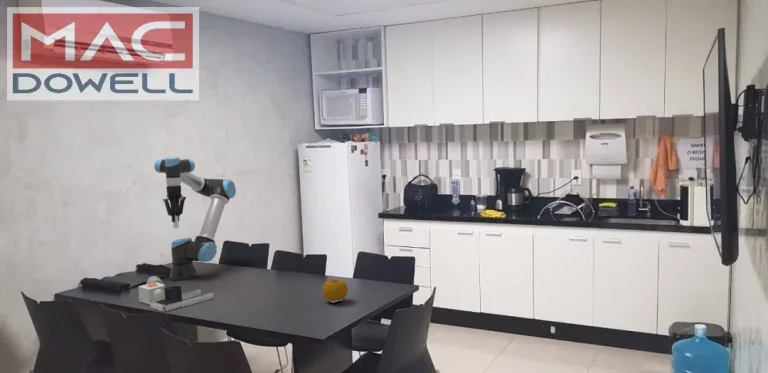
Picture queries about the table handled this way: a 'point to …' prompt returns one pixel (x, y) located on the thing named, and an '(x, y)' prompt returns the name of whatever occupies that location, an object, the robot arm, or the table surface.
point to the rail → (161, 307)
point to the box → (172, 293)
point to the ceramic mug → (154, 280)
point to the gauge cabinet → (151, 293)
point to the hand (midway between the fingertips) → (176, 227)
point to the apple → (335, 290)
